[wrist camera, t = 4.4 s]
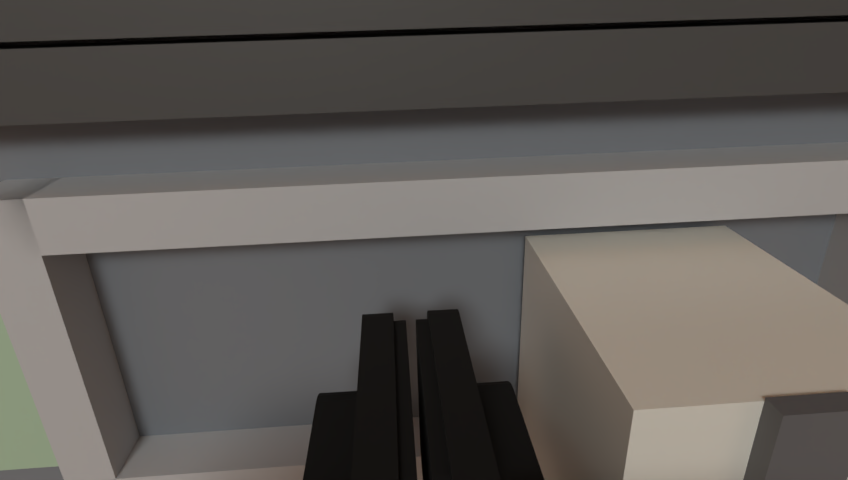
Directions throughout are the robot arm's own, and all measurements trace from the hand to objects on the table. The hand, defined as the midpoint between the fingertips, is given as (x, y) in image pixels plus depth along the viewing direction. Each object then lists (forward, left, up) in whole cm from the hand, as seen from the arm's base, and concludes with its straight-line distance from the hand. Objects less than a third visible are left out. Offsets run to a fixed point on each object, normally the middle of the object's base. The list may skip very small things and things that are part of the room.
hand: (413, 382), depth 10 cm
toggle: (-4, 0, -2) cm, 5 cm away
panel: (-1, 0, -4) cm, 4 cm away
